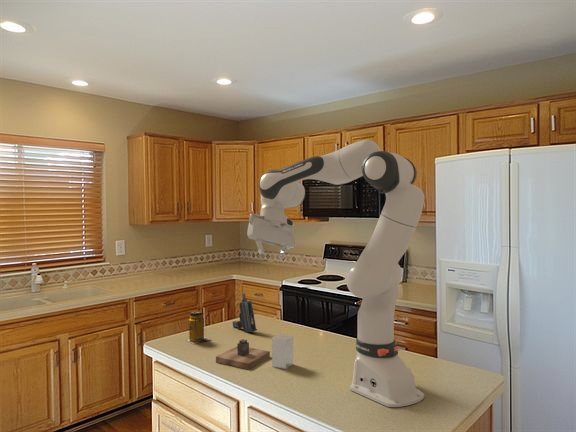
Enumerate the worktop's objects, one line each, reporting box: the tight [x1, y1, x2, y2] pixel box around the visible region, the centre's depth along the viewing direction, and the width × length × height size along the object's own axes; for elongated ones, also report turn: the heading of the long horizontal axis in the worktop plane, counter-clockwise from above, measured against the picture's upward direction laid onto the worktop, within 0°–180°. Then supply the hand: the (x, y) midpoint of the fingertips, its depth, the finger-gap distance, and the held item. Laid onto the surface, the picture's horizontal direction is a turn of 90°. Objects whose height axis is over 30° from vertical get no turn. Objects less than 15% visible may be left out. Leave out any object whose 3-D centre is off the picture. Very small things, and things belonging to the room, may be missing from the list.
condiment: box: [186, 310, 212, 345], centre depth 174 cm, size 7×8×12 cm
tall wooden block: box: [271, 333, 294, 370], centre depth 145 cm, size 5×5×10 cm
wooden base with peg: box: [215, 338, 271, 370], centre depth 151 cm, size 14×14×7 cm
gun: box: [232, 293, 258, 333], centre depth 189 cm, size 3×17×15 cm
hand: (271, 255), depth 148 cm, fingers open, 8 cm apart
